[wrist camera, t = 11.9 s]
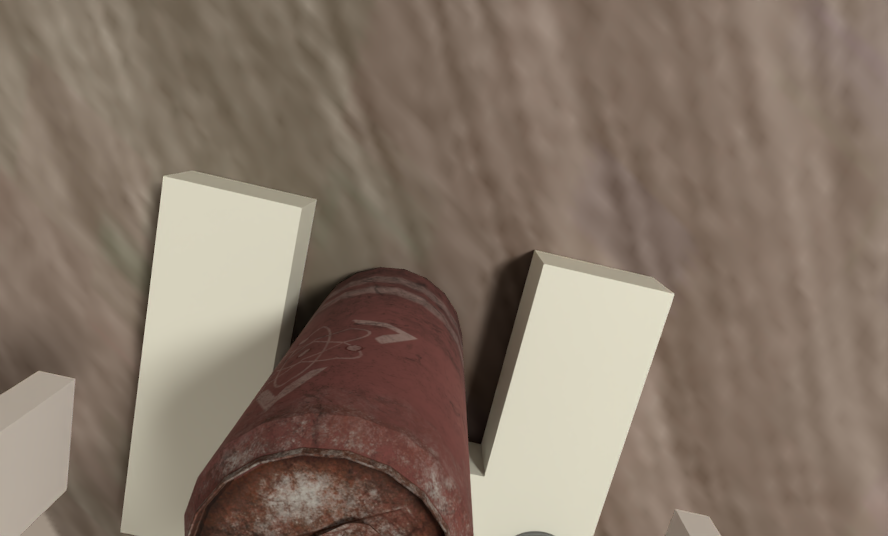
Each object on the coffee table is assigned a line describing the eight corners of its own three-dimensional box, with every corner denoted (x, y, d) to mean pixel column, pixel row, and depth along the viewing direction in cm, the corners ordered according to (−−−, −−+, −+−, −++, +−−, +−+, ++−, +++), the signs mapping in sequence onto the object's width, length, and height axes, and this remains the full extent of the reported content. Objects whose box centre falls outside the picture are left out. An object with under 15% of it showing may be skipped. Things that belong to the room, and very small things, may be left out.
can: (294, 374, 26) (119, 657, 12) (348, 241, 24) (219, 391, 11) (424, 426, 26) (397, 753, 13) (484, 299, 25) (526, 512, 11)
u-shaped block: (192, 170, 24) (163, 175, 21) (652, 277, 24) (674, 293, 22) (149, 495, 27) (120, 532, 25) (553, 578, 28) (564, 622, 26)
